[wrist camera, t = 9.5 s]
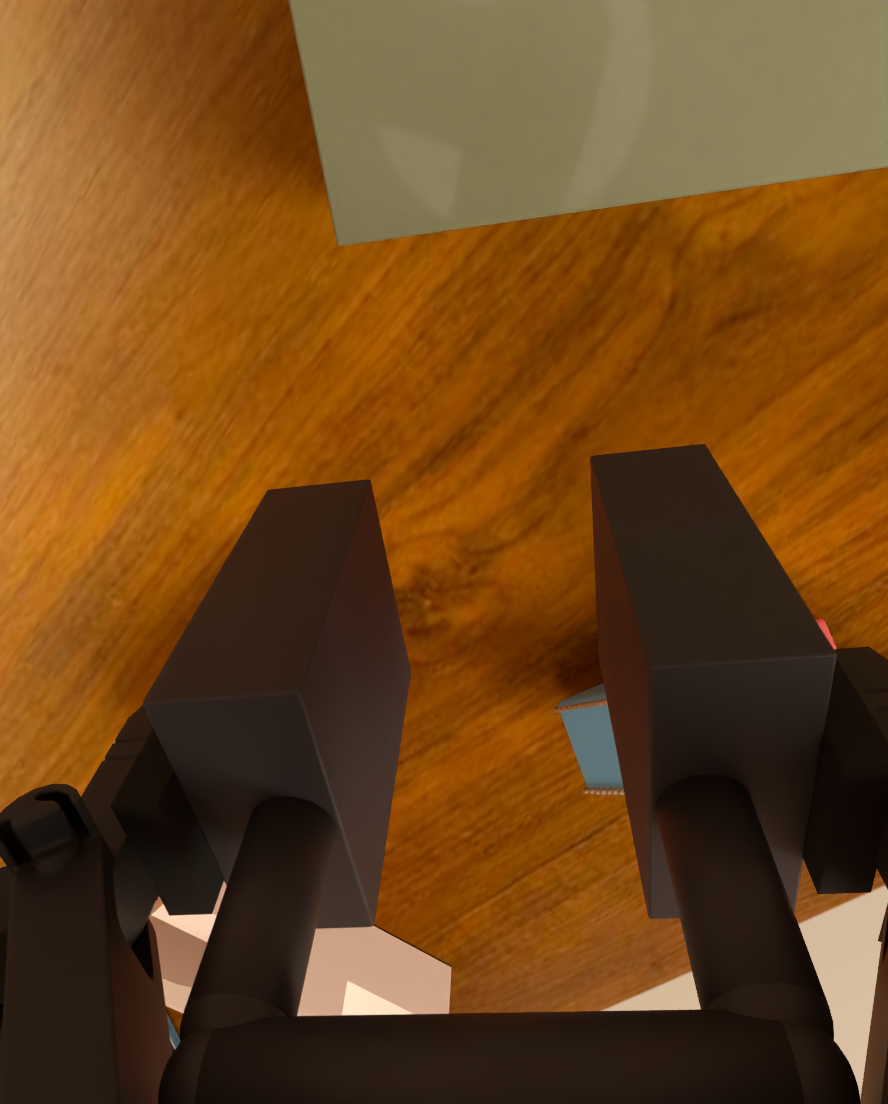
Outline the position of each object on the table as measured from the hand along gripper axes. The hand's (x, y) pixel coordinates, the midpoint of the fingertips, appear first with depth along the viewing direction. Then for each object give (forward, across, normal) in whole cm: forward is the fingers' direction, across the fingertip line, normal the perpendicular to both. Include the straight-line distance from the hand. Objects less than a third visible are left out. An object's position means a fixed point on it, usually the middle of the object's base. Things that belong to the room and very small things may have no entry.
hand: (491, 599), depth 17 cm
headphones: (+1, 0, 0) cm, 1 cm away
